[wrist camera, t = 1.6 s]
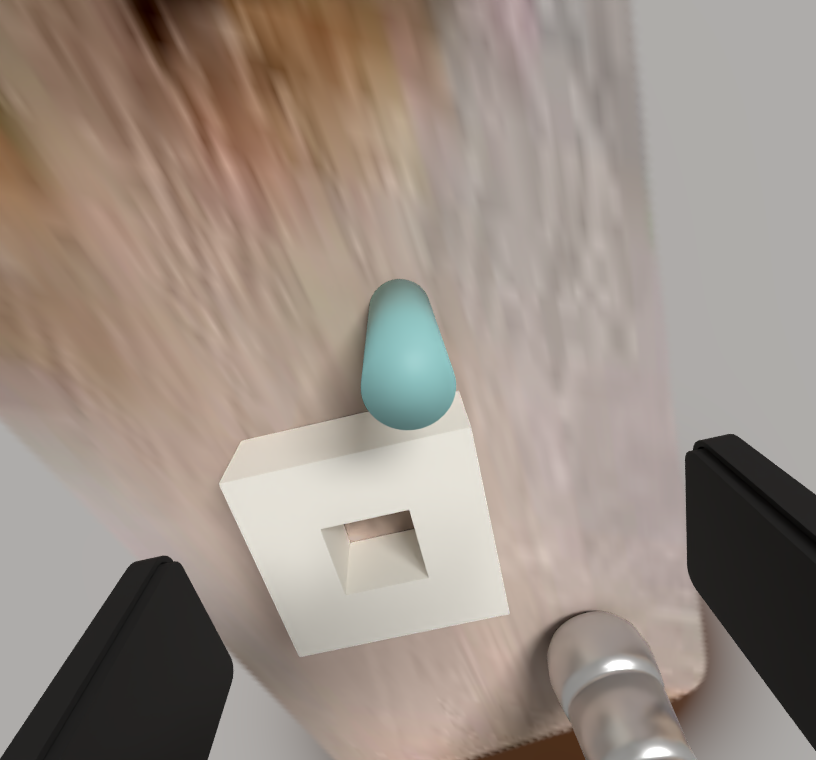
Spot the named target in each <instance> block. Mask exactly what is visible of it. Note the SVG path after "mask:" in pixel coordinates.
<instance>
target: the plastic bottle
mask: <svg viewBox="0 0 816 760" xmlns="http://www.w3.org/2000/svg"><path fill="white" fill-rule="evenodd" d="M547 663H548V670H549V677H550V682H551V686H552V688H553V690H554V692H555V694H556V696H557V699H558V701H559V703H560V705H561V707H562V709H563V710H564V712H565V714H566V716H567V717H568V719H569V721H570V722H571V725H572V727H573V730H574V732H575V734H576V737H577V739H578V742H579V744H580V747H581V749H582V751H583V753H584V756H585V759H586V760H697V759H696V757H695V755H694V754H693V752H692V750H691V748H690V747H689V745H688V742H687V740H686V738H685V735H684V733H683V731H682V728H681V726H680V724H679V722H678V719H677V717H676V715H675V712H674V710H673V708H672V705H671V703H670V701H669V699H668V696H667V694H666V692H665V689H664V683H663V680H662V677H661V673H660V670H659V668H658V665H657V663H656V660H655V658H654V655H653V653H652V650H651V648H650V646H649V645H648V643H647V642H646V641H645V639H644V638H643V637H642V636H641V634H640V633H639V632H638V630H637V629H636V628H635V627H634V626H633V624H631V623H630V622H628V621H627V620H625V619H623V618H621V617H619V616H617V615H615V614H612V613H609V612H604V611H594V612H587V613H583V614H580V615H577V616H575V617H573V618H571V619H569V620H568V621H566V622H565V623H563V624H562V625H561V626H560V627H559V628H558V629H557V630H556V632H555V633H554V635H553V637H552V639H551V642H550V645H549V648H548V651H547Z"/></svg>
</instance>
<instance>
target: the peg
mask: <svg viewBox="0 0 816 760" xmlns="http://www.w3.org/2000/svg"><path fill="white" fill-rule="evenodd" d="M455 392H456V379H455V375H454V372H453V369H452V366H451V363H450V360H449V357H448V354H447V351H446V348H445V345H444V342H443V340H442V337H441V334H440V331H439V328H438V325H437V322H436V319H435V316H434V313H433V311H432V308H431V305H430V302H429V299H428V297H427V295H426V293H425V291H424V290H423V289H422V288H421V287H420V286H419V285H417V284H416V283H414V282H412V281H409V280H404V279H396V280H391V281H388V282H386V283H384V284H382V285H381V286H380V287H379V288H378V289H377V290H376V291H375V292H374V294H373V296H372V298H371V300H370V305H369V314H368V323H367V333H366V342H365V351H364V361H363V370H362V380H361V394H362V399H363V402H364V404H365V406H366V408H367V410H368V411H369V412H370V414H371V415H372V416H373V417H374V418H375V419H377V420H378V421H379V422H381V423H382V424H384V425H386V426H388V427H391V428H394V429H399V430H416V429H421V428H424V427H427V426H429V425H431V424H433V423H435V422H436V421H438V420H439V419H440V418H441V417H442V416H444V415H445V413H446V412H447V411H448V410H449V408H450V406H451V405H452V402H453V400H454V397H455Z"/></svg>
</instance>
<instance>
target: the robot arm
mask: <svg viewBox="0 0 816 760" xmlns="http://www.w3.org/2000/svg"><path fill="white" fill-rule="evenodd" d="M685 478H686V529H687V568H688V573H689V576H690V579H691V581H692V583H693V585H694V587H695V588H696V590H697V591H698V593H699V594H700V595H701V597H702V598H703V599H704V600H705V602H706V603H707V605H708V606H709V607H710V609H711V610H712V612H713V613H714V614H715V616H716V617H717V618H718V620H719V621H720V622H721V623H722V625H723V626H724V628H725V629H726V630H727V632H728V633H729V634H730V636H731V637H732V638H733V640H734V641H735V643H736V644H737V645H738V647H739V648H740V649H741V651H742V652H743V653H744V655H745V656H746V657H747V659H748V660H749V661H750V662H751V664H752V666H753V667H754V668H755V670H756V671H757V672H758V674H759V675H760V676H761V678H762V679H763V680H764V682H765V683H766V684H767V686H768V687H769V688H770V690H771V691H772V693H773V694H774V695H775V697H776V698H777V699H778V701H779V702H780V703H781V705H782V706H783V707H784V709H785V710H786V712H787V713H788V714H789V716H790V717H791V718H792V719H793V721H794V722H795V724H796V725H797V726H798V728H799V729H800V730H801V731H802V733H803V734H804V736H805V737H806V738H807V740H808V741H809V743H810V744H811V745H812V747H813V748H814V749H815V751H816V495H815V494H814V493H813V492H811V491H810V490H808V489H807V488H806V487H805V486H803V485H802V484H801V483H799V482H798V481H797V480H795V479H794V478H792V477H791V476H790V475H789V474H787V473H786V472H785V471H783V470H782V469H781V468H779V467H778V466H777V465H775V464H774V463H773V462H771V461H770V460H769V459H767V458H766V457H765V456H763V455H762V454H760V453H759V452H758V451H757V450H755V449H754V448H752V447H751V446H750V445H748V444H747V443H746V442H745V441H743V440H742V439H741V438H739V437H738V436H736V435H734V434H727V435H723V436H718V437H713V438H709V439H704V440H699V441H697V442H695V444H694V447H693V451H689V452H687V453H686V456H685ZM232 679H233V663H232V660H231V657H230V655H229V653H228V651H227V649H226V648H225V646H224V644H223V642H222V640H221V638H220V636H219V634H218V632H217V631H216V629H215V627H214V625H213V623H212V621H211V619H210V617H209V615H208V614H207V612H206V610H205V608H204V606H203V604H202V602H201V600H200V598H199V597H198V595H197V593H196V591H195V589H194V587H193V585H192V583H191V581H190V580H189V578H188V576H187V574H186V572H185V570H184V568H183V566H182V565H181V564H180V563H179V562H175V561H174V562H173V560H172V559H171V558H170V557H168V556H159V557H155V558H150V559H145V560H141V561H136V562H134V563H132V564H131V565H130V566H129V567H128V568H127V570H126V571H125V573H124V574H123V576H122V577H121V579H120V580H119V582H118V583H117V585H116V586H115V588H114V589H113V591H112V592H111V594H110V595H109V597H108V598H107V600H106V601H105V603H104V604H103V606H102V607H101V609H100V610H99V612H98V613H97V615H96V616H95V618H94V619H93V621H92V622H91V624H90V625H89V627H88V628H87V630H86V631H85V633H84V634H83V636H82V637H81V639H80V640H79V642H78V643H77V645H76V646H75V648H74V649H73V651H72V652H71V653H70V655H69V657H68V658H67V660H66V661H65V662H64V664H63V665H62V667H61V669H60V670H59V672H58V673H57V675H56V676H55V677H54V679H53V680H52V682H51V683H50V685H49V686H48V688H47V689H46V691H45V692H44V694H43V696H42V697H41V698H40V700H39V701H38V703H37V704H36V706H35V707H34V709H33V711H32V712H31V713H30V715H29V716H28V718H27V719H26V721H25V722H24V724H23V725H22V727H21V728H20V730H19V731H18V733H17V734H16V736H15V737H14V739H13V740H12V742H11V743H10V745H9V746H8V748H7V749H6V751H5V752H4V754H3V756H2V757H1V758H0V760H208V757H209V753H210V750H211V747H212V744H213V741H214V737H215V734H216V731H217V728H218V724H219V721H220V718H221V714H222V712H223V709H224V705H225V702H226V699H227V696H228V692H229V689H230V686H231V683H232Z"/></svg>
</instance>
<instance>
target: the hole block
mask: <svg viewBox="0 0 816 760" xmlns="http://www.w3.org/2000/svg"><path fill="white" fill-rule="evenodd" d="M219 486H220V488H221V490H222V492H223V494H224V496H225V499H226V501H227V503H228V505H229V507H230V509H231V511H232V514H233V516H234V518H235V520H236V522H237V524H238V527H239V529H240V531H241V533H242V535H243V537H244V539H245V542H246V544H247V546H248V548H249V550H250V552H251V554H252V557H253V559H254V561H255V563H256V565H257V567H258V570H259V572H260V574H261V576H262V578H263V580H264V582H265V585H266V587H267V589H268V591H269V593H270V595H271V598H272V600H273V602H274V604H275V606H276V608H277V610H278V613H279V615H280V617H281V619H282V621H283V623H284V625H285V628H286V630H287V632H288V634H289V636H290V638H291V641H292V643H293V645H294V647H295V649H296V651H297V653H298V656H299V657H304V656H309V655H313V654H318V653H323V652H328V651H333V650H338V649H343V648H347V647H352V646H357V645H362V644H367V643H372V642H376V641H381V640H386V639H391V638H396V637H401V636H405V635H410V634H415V633H420V632H425V631H430V630H435V629H439V628H444V627H449V626H454V625H459V624H464V623H468V622H473V621H478V620H483V619H488V618H493V617H497V616H502V615H507V614H510V612H509V608H508V603H507V598H506V593H505V588H504V584H503V579H502V574H501V569H500V564H499V559H498V555H497V550H496V545H495V540H494V535H493V531H492V526H491V521H490V516H489V511H488V507H487V502H486V497H485V492H484V487H483V482H482V478H481V473H480V468H479V463H478V458H477V454H476V449H475V444H474V439H473V434H472V430H471V426H470V423H469V420H468V417H467V414H466V411H465V408H464V405H463V402H462V399H461V396H460V393H459V391H456V392H455V397H454V400H453V402H452V405H451V406H450V408H449V410H448V411H447V412H446V413H445V415H444V416H442V417H441V418H440V419H439V420H438V421H436V422H435V423H433V424H431V425H429V426H427V427H424V428H421V429H416V430H399V429H394V428H391V427H388V426H386V425H384V424H382V423H381V422H379V421H378V420H377V419H375V418H374V417H373V416H372V415H371V414H370V412H369V411H368V412H364V413H360V414H355V415H351V416H347V417H342V418H338V419H334V420H329V421H325V422H320V423H316V424H312V425H307V426H303V427H299V428H294V429H290V430H286V431H281V432H277V433H273V434H268V435H264V436H260V437H255V438H251V439H247V440H242V441H241V442H240V444H239V446H238V448H237V450H236V452H235V454H234V456H233V458H232V460H231V462H230V463H229V465H228V467H227V469H226V471H225V473H224V475H223V477H222V479H221V481H220V483H219ZM406 510H409V511H410V514H411V518H412V521H413V525H414V528H415V529H411V530H407V531H402V532H398V533H393V534H388V535H384V536H379V537H375V538H370V539H365V540H361V541H356V542H352V543H350V541H349V538H348V535H347V532H346V529H345V527H344V524H347V523H351V522H356V521H360V520H365V519H369V518H374V517H379V516H383V515H388V514H392V513H397V512H401V511H406Z"/></svg>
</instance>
